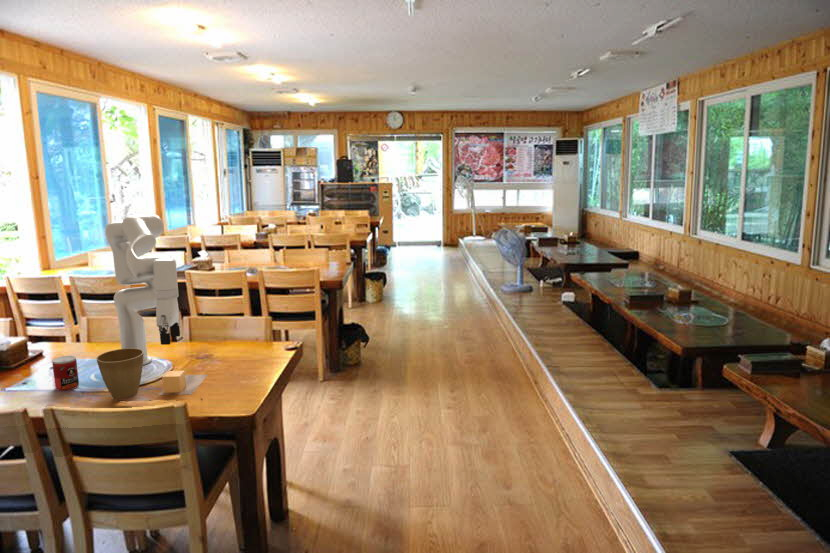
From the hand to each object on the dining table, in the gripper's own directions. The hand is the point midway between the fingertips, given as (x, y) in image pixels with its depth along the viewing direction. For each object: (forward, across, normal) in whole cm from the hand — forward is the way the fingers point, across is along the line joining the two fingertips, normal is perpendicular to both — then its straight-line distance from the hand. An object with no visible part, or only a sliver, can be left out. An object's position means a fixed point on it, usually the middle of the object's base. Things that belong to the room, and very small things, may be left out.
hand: (170, 340), depth 211 cm
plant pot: (+20, +3, -17) cm, 26 cm away
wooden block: (+18, 0, 0) cm, 19 cm away
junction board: (+20, -5, +2) cm, 21 cm away
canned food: (+20, -9, -42) cm, 48 cm away
